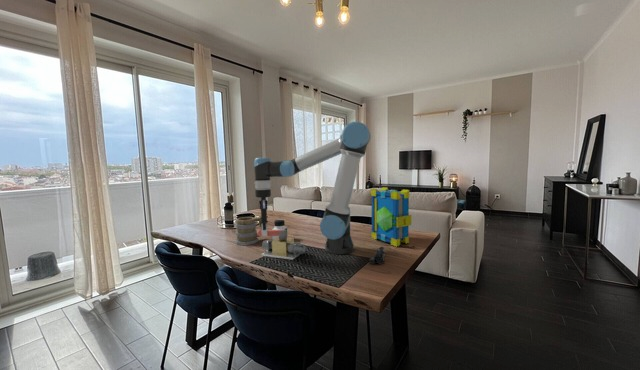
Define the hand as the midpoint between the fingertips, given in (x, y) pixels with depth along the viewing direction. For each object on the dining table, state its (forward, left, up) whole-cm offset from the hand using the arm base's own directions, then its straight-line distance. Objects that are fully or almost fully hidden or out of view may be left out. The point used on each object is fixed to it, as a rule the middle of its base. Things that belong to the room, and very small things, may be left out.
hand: (264, 235), depth 136 cm
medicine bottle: (+7, -26, -10) cm, 29 cm away
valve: (-8, -5, -10) cm, 13 cm away
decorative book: (-55, -43, -10) cm, 70 cm away
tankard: (+21, -18, -10) cm, 30 cm away
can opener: (-55, -14, -10) cm, 57 cm away
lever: (-2, -3, -2) cm, 5 cm away
